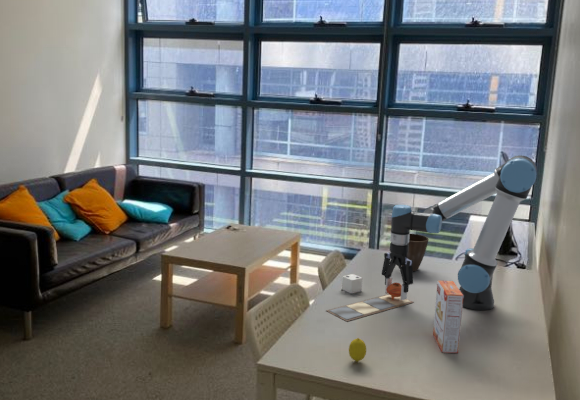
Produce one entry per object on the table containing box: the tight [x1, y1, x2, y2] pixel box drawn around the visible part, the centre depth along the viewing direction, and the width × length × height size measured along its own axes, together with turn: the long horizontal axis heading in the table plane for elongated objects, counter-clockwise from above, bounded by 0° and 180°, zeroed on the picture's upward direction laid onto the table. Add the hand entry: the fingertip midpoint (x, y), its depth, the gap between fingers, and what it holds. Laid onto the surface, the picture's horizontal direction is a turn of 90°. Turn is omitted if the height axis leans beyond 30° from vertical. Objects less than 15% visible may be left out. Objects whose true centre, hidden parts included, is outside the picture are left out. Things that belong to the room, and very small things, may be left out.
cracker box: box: [432, 280, 464, 354], centre depth 196 cm, size 14×6×21 cm, turn 178°
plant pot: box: [402, 233, 429, 272], centre depth 277 cm, size 15×15×16 cm
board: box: [325, 294, 414, 322], centre depth 229 cm, size 12×37×1 cm, turn 127°
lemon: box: [348, 337, 367, 363], centre depth 182 cm, size 6×6×8 cm
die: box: [341, 273, 363, 294], centre depth 246 cm, size 6×6×6 cm
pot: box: [385, 282, 402, 299], centre depth 236 cm, size 8×8×7 cm
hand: (395, 296), depth 237 cm, fingers closed on pot, 8 cm apart
